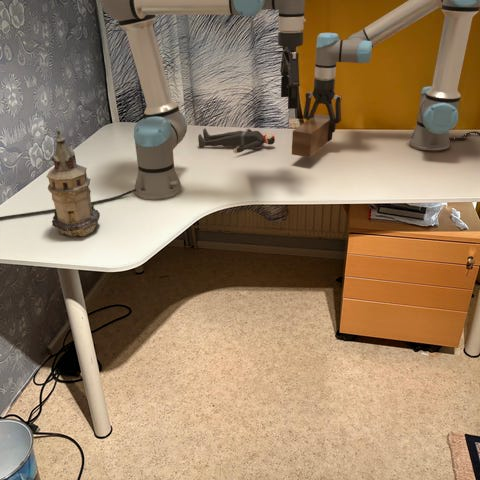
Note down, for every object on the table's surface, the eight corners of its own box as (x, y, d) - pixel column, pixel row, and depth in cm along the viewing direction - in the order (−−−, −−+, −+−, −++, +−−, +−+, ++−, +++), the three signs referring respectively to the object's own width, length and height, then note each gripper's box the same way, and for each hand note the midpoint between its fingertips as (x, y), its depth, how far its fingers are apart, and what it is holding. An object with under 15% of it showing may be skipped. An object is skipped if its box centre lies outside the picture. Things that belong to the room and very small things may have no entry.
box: (309, 157, 191) (311, 133, 187) (291, 154, 194) (292, 130, 190) (332, 138, 209) (333, 116, 205) (315, 135, 212) (316, 114, 208)
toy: (208, 122, 226) (279, 122, 220) (210, 136, 230) (279, 136, 223) (191, 142, 204) (269, 142, 198) (193, 157, 207) (270, 158, 201)
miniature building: (80, 214, 164) (63, 117, 149) (111, 225, 157) (96, 125, 142) (44, 231, 154) (22, 130, 140) (75, 244, 147) (55, 139, 133)
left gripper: (312, 37, 149) (308, 113, 159) (295, 25, 170) (293, 92, 181) (285, 38, 148) (283, 114, 158) (272, 25, 170) (271, 93, 180)
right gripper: (354, 78, 195) (348, 139, 206) (303, 73, 203) (300, 131, 215) (347, 83, 189) (342, 145, 201) (295, 77, 197) (292, 137, 209)
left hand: (288, 102), depth 170 cm, fingers open, 13 cm apart
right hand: (320, 138), depth 208 cm, fingers closed on box, 7 cm apart
